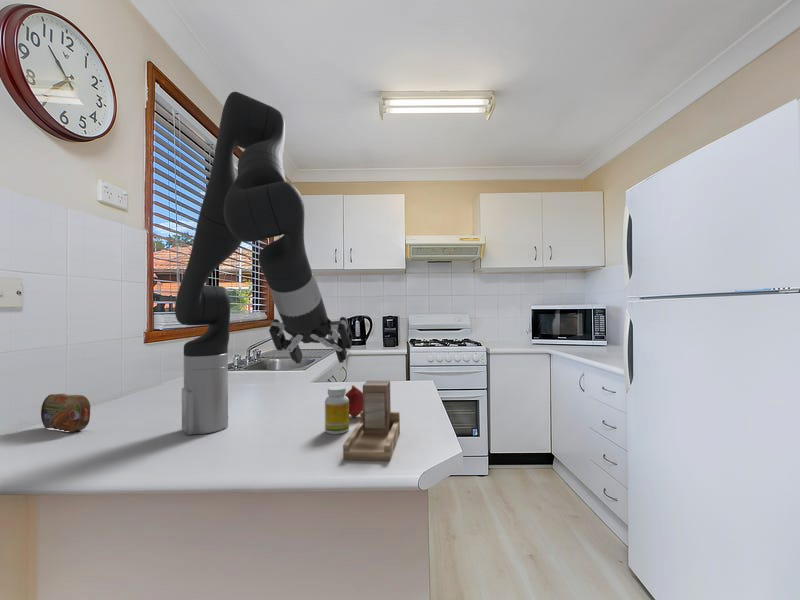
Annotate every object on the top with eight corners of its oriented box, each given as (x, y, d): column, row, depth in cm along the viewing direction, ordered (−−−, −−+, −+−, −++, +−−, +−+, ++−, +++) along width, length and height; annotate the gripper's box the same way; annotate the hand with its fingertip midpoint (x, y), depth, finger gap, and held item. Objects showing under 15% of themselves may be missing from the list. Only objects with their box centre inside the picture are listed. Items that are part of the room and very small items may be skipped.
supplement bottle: (322, 429, 88) (321, 387, 89) (345, 426, 91) (344, 384, 91) (328, 436, 84) (328, 391, 84) (352, 432, 86) (352, 388, 86)
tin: (39, 428, 93) (39, 393, 93) (54, 425, 96) (55, 390, 96) (78, 435, 88) (78, 397, 88) (93, 431, 90) (93, 394, 91)
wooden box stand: (390, 460, 69) (388, 395, 70) (343, 459, 70) (342, 395, 71) (399, 432, 85) (398, 379, 85) (361, 431, 86) (360, 379, 86)
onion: (368, 414, 101) (367, 383, 101) (363, 420, 95) (363, 387, 95) (346, 413, 101) (345, 383, 102) (340, 420, 96) (340, 387, 96)
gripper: (343, 282, 67) (359, 344, 78) (264, 285, 69) (290, 345, 80) (335, 313, 62) (353, 375, 73) (250, 316, 63) (280, 376, 74)
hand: (320, 359), depth 76 cm, fingers open, 8 cm apart
